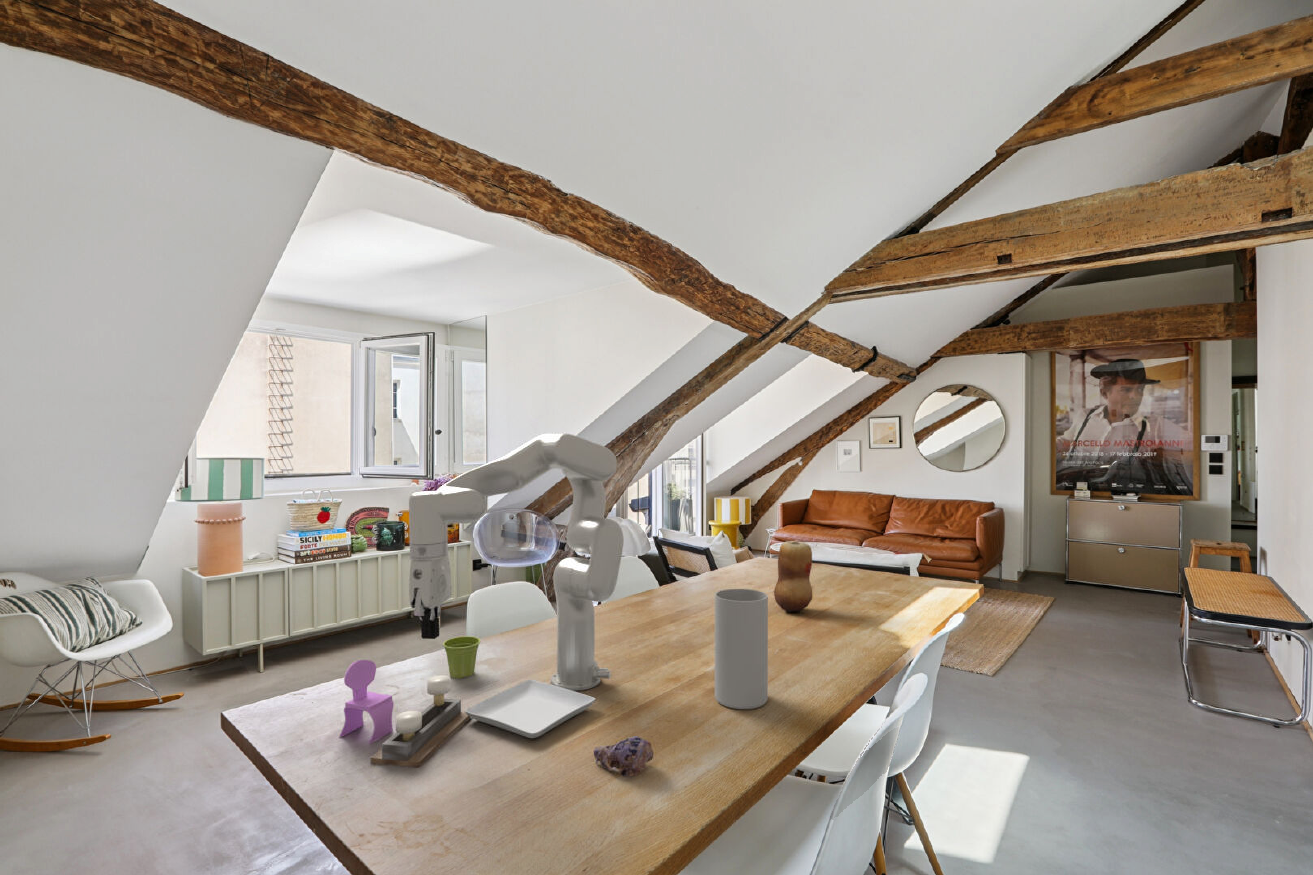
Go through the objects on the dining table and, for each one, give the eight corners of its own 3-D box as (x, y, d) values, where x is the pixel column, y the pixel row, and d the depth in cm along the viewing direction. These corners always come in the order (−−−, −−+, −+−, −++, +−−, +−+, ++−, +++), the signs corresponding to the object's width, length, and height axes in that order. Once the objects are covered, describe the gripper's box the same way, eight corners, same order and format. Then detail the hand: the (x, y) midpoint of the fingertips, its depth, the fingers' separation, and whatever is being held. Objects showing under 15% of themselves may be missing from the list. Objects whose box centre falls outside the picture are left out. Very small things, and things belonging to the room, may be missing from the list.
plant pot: (469, 682, 164) (469, 648, 164) (436, 679, 165) (436, 646, 165) (486, 669, 173) (486, 637, 173) (454, 667, 175) (454, 635, 175)
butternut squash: (804, 618, 222) (804, 546, 222) (768, 612, 229) (768, 542, 229) (817, 609, 234) (818, 540, 234) (783, 604, 241) (783, 537, 241)
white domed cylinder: (426, 737, 129) (426, 711, 129) (413, 748, 124) (413, 721, 124) (404, 735, 130) (404, 709, 130) (390, 746, 125) (390, 720, 125)
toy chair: (368, 746, 130) (368, 672, 130) (335, 739, 133) (335, 666, 133) (398, 728, 138) (398, 658, 138) (366, 722, 141) (366, 653, 141)
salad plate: (534, 749, 129) (534, 732, 129) (461, 724, 141) (461, 708, 141) (598, 711, 147) (598, 696, 147) (529, 691, 159) (529, 678, 159)
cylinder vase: (771, 693, 157) (771, 591, 157) (762, 713, 145) (762, 603, 145) (721, 686, 161) (721, 587, 161) (709, 706, 149) (709, 598, 149)
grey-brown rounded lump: (586, 767, 122) (586, 734, 122) (610, 750, 128) (610, 720, 128) (637, 786, 115) (637, 752, 115) (661, 767, 122) (661, 735, 122)
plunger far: (454, 699, 141) (454, 676, 141) (443, 708, 136) (443, 684, 136) (434, 698, 142) (434, 674, 142) (422, 707, 137) (422, 682, 137)
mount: (470, 717, 143) (471, 700, 143) (418, 767, 121) (418, 747, 121) (429, 714, 145) (429, 697, 145) (370, 762, 123) (370, 743, 123)
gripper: (428, 558, 127) (429, 650, 127) (461, 544, 142) (463, 627, 142) (392, 557, 128) (394, 649, 128) (429, 543, 143) (431, 626, 143)
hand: (430, 637), depth 135 cm, fingers closed
